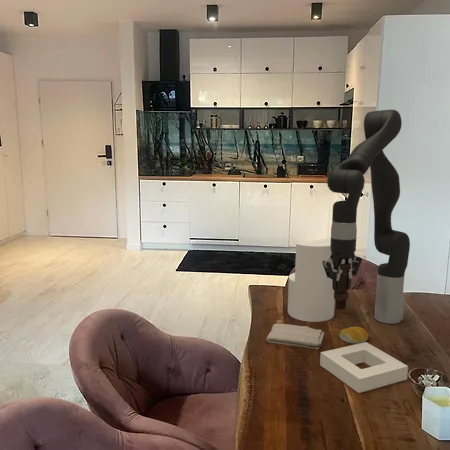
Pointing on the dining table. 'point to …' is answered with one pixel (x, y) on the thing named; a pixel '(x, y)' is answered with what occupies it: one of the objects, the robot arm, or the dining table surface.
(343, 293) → the bolt
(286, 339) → the washcloth
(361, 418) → the dining table surface
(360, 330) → the bread roll
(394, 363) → the collar block
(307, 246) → the cylinder
